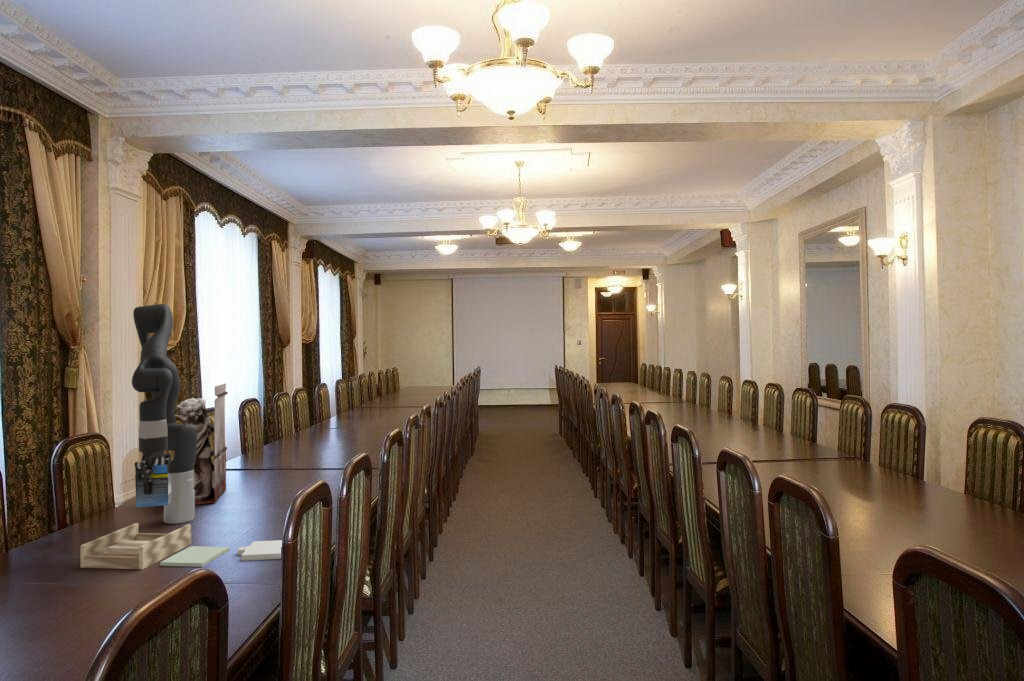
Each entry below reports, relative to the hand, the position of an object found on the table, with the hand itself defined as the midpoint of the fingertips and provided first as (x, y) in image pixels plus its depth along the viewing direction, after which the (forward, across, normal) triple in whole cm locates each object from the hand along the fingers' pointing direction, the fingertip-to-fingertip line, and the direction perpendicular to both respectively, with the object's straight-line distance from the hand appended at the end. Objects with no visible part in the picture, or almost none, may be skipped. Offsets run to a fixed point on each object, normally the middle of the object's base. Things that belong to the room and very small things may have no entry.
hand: (153, 491), depth 190 cm
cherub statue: (+18, -61, -23) cm, 67 cm away
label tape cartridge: (+4, 0, 0) cm, 4 cm away
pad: (+17, +8, +18) cm, 25 cm away
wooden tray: (+17, +6, 0) cm, 18 cm away
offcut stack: (+17, +10, 0) cm, 20 cm away
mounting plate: (+18, +1, +36) cm, 41 cm away
